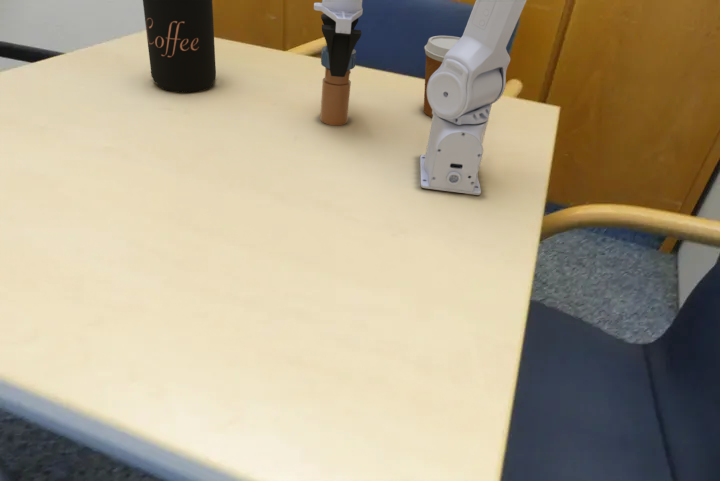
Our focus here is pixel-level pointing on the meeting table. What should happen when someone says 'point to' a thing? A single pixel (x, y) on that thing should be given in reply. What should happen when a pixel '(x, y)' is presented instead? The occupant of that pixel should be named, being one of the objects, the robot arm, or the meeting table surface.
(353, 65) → the lid
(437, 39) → the disposable coffee cup
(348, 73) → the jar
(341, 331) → the meeting table surface
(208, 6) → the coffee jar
